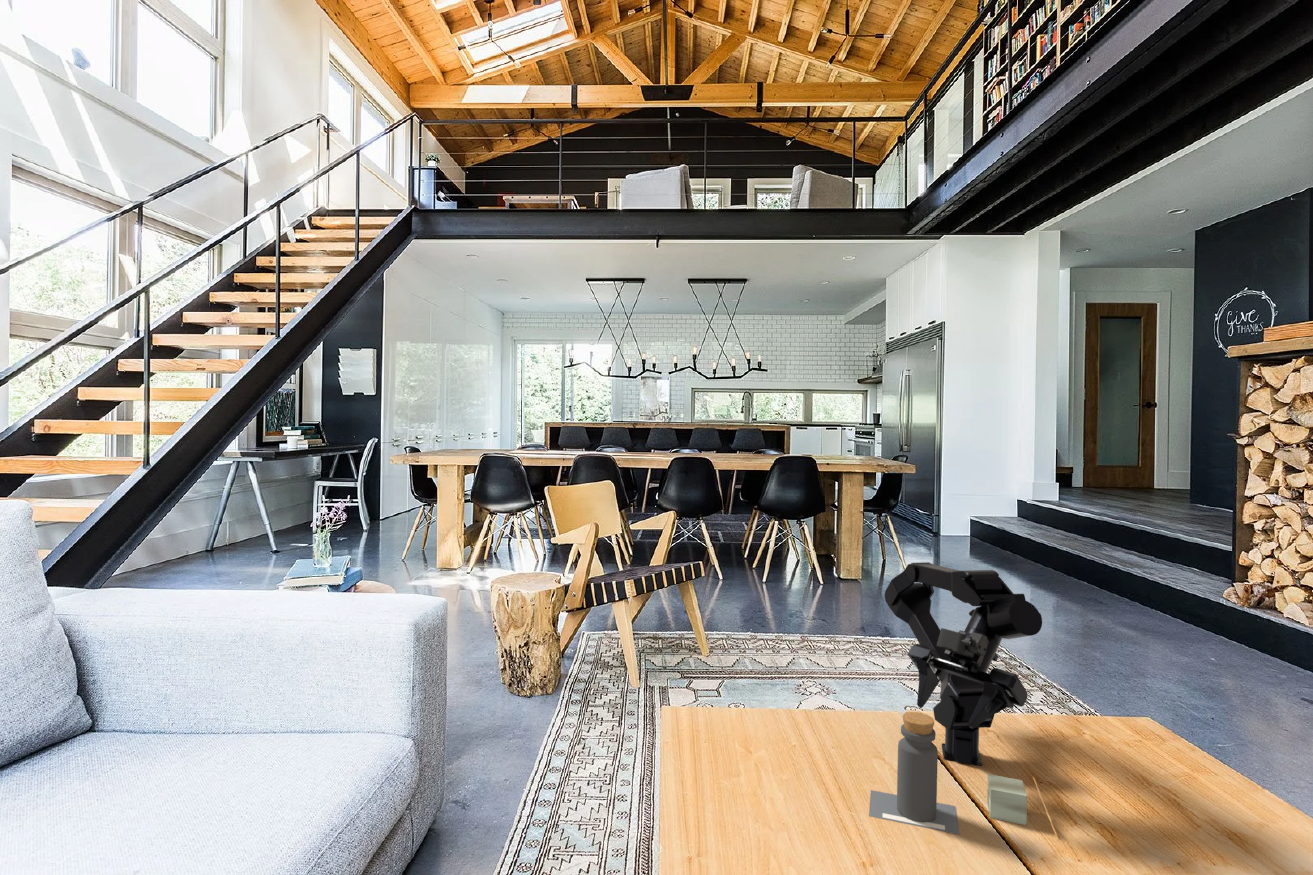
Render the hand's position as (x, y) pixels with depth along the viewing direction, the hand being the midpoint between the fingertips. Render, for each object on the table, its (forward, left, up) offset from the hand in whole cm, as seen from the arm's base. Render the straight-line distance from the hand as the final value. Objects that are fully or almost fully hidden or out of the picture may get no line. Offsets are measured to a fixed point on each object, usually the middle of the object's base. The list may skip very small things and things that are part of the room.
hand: (944, 716), depth 110 cm
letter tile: (+7, -5, -14) cm, 16 cm away
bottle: (+7, -4, -13) cm, 15 cm away
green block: (+2, +9, -14) cm, 17 cm away
